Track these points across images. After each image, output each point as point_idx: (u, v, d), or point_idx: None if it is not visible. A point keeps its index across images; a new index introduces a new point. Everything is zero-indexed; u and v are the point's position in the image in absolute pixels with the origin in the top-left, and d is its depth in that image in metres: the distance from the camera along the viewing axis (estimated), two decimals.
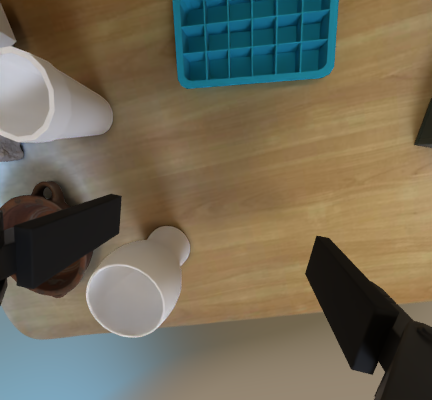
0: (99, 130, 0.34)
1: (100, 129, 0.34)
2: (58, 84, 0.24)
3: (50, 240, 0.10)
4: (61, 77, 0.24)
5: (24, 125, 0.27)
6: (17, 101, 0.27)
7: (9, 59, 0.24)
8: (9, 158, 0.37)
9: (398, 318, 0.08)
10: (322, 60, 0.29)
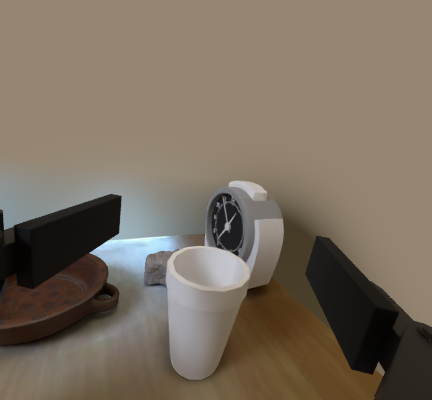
0: (177, 357, 0.25)
1: (179, 358, 0.25)
2: (229, 298, 0.22)
3: (50, 240, 0.10)
4: (235, 304, 0.23)
5: (181, 274, 0.28)
6: (202, 273, 0.30)
7: (237, 269, 0.28)
8: (147, 272, 0.39)
9: (399, 318, 0.08)
10: None
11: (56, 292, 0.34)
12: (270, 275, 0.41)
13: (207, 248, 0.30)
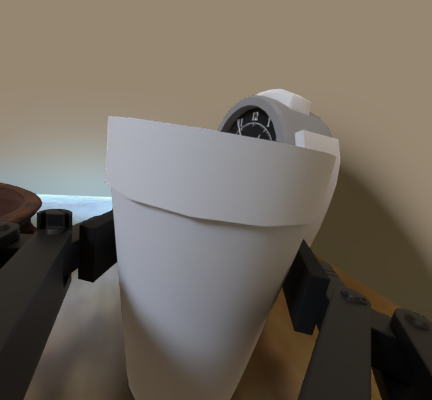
0: (137, 369, 0.10)
1: (140, 373, 0.10)
2: (294, 183, 0.07)
3: (107, 238, 0.11)
4: (308, 213, 0.07)
5: None
6: None
7: None
8: None
9: (334, 287, 0.09)
10: None
11: None
12: (313, 235, 0.26)
13: None
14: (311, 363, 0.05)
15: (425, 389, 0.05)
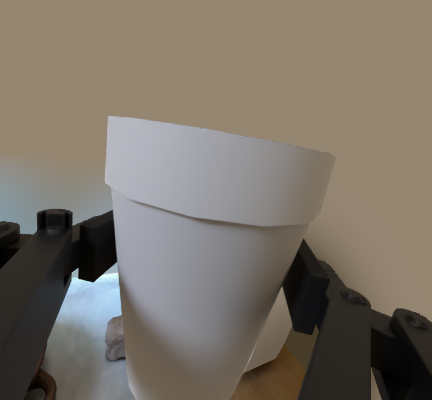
0: (137, 369, 0.10)
1: (140, 373, 0.10)
2: (294, 183, 0.07)
3: (107, 237, 0.11)
4: (308, 213, 0.07)
5: None
6: None
7: None
8: (108, 344, 0.28)
9: (334, 287, 0.09)
10: None
11: None
12: (278, 349, 0.30)
13: None
14: (311, 363, 0.05)
15: (425, 389, 0.05)
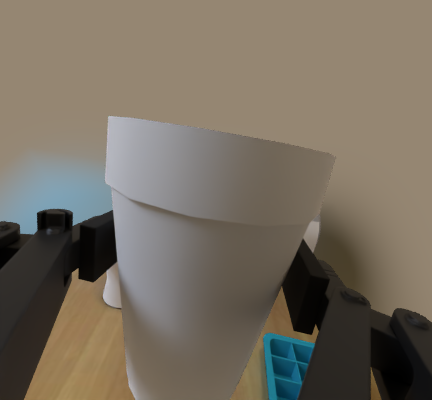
0: (137, 369, 0.10)
1: (140, 373, 0.10)
2: (294, 183, 0.07)
3: (107, 237, 0.11)
4: (307, 213, 0.07)
5: None
6: None
7: None
8: None
9: (334, 287, 0.09)
10: None
11: None
12: None
13: None
14: (310, 363, 0.05)
15: (425, 389, 0.05)
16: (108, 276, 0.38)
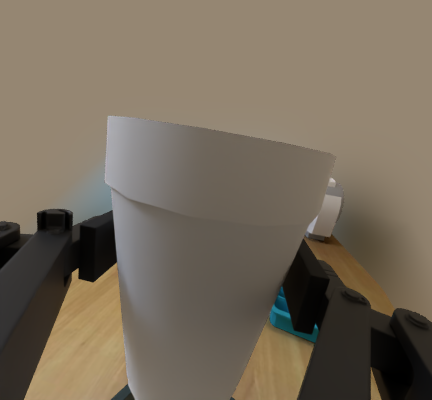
0: (137, 369, 0.10)
1: (140, 373, 0.10)
2: (294, 183, 0.07)
3: (107, 237, 0.11)
4: (308, 213, 0.07)
5: None
6: None
7: None
8: None
9: (334, 287, 0.09)
10: None
11: None
12: (330, 231, 0.69)
13: None
14: (311, 363, 0.05)
15: (424, 389, 0.05)
16: None
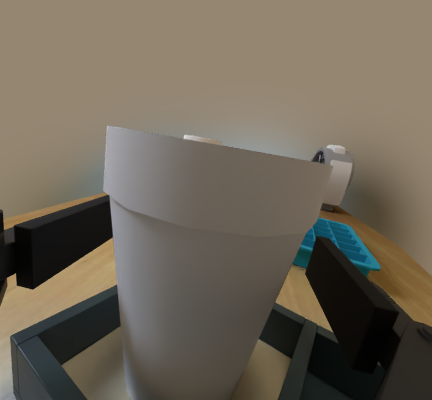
0: (135, 375, 0.10)
1: (138, 379, 0.10)
2: (291, 194, 0.07)
3: (51, 240, 0.10)
4: (304, 223, 0.07)
5: None
6: None
7: None
8: None
9: (399, 318, 0.08)
10: None
11: None
12: (340, 199, 0.67)
13: None
14: None
15: None
16: None
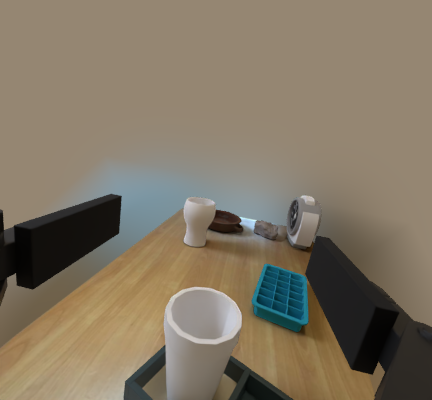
0: (173, 396, 0.27)
1: (174, 398, 0.27)
2: (221, 349, 0.24)
3: (50, 240, 0.10)
4: (227, 353, 0.25)
5: (179, 315, 0.30)
6: (198, 313, 0.32)
7: (230, 312, 0.29)
8: (255, 227, 0.95)
9: (398, 318, 0.08)
10: None
11: None
12: (310, 242, 0.84)
13: (204, 289, 0.32)
14: None
15: None
16: (187, 229, 0.75)
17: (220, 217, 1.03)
